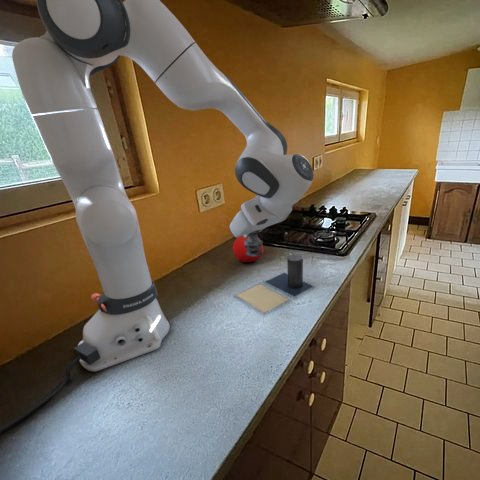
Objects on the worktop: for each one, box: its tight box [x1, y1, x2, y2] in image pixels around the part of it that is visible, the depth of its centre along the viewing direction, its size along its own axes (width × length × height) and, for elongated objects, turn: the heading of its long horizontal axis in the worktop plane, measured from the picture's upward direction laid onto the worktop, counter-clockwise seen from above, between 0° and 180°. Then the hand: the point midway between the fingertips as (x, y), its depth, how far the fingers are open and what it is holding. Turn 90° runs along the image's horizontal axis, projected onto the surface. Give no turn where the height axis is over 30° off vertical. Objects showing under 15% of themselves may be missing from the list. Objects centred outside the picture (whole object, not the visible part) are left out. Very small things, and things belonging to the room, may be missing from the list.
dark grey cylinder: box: [286, 254, 304, 289], centre depth 99 cm, size 5×5×10 cm
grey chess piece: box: [244, 230, 264, 256], centre depth 93 cm, size 6×6×12 cm
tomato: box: [232, 236, 264, 263], centre depth 119 cm, size 12×12×10 cm
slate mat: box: [265, 272, 314, 298], centre depth 102 cm, size 9×14×1 cm, turn 42°
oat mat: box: [235, 283, 289, 314], centre depth 95 cm, size 10×14×1 cm
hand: (251, 232), depth 93 cm, fingers closed on grey chess piece, 3 cm apart
